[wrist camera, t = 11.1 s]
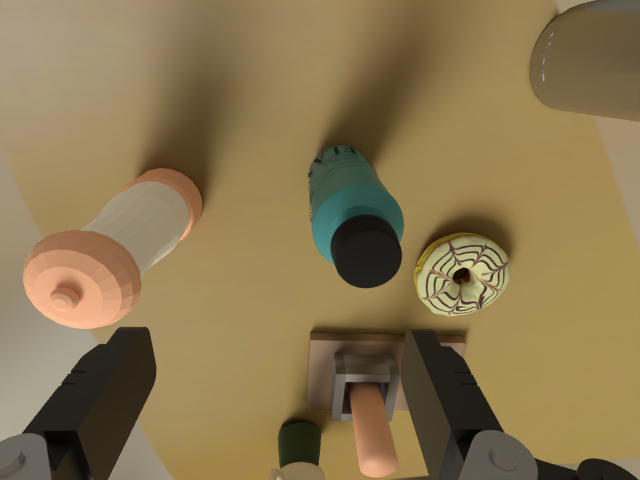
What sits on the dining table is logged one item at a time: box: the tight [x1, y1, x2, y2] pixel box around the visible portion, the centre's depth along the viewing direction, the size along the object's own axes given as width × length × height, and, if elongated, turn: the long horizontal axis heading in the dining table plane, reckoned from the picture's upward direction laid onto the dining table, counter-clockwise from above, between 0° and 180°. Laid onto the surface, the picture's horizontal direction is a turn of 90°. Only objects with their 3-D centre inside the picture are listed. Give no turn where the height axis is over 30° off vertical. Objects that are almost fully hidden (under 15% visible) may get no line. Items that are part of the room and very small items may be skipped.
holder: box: [306, 333, 466, 421], centre depth 48 cm, size 20×12×5 cm, turn 87°
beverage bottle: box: [308, 144, 404, 288], centre depth 30 cm, size 6×7×20 cm
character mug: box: [269, 422, 325, 480], centre depth 49 cm, size 11×7×13 cm, turn 38°
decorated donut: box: [414, 232, 510, 316], centre depth 43 cm, size 10×11×4 cm
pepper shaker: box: [23, 168, 202, 329], centre depth 31 cm, size 7×7×19 cm
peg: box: [348, 382, 398, 478], centre depth 43 cm, size 4×4×12 cm
